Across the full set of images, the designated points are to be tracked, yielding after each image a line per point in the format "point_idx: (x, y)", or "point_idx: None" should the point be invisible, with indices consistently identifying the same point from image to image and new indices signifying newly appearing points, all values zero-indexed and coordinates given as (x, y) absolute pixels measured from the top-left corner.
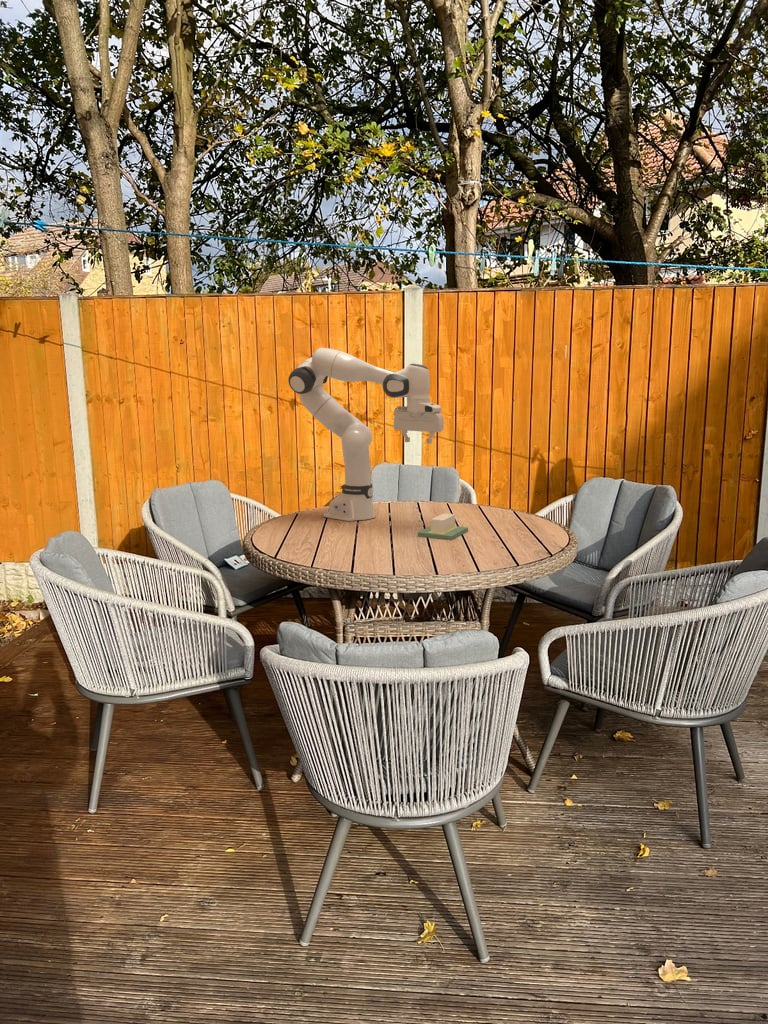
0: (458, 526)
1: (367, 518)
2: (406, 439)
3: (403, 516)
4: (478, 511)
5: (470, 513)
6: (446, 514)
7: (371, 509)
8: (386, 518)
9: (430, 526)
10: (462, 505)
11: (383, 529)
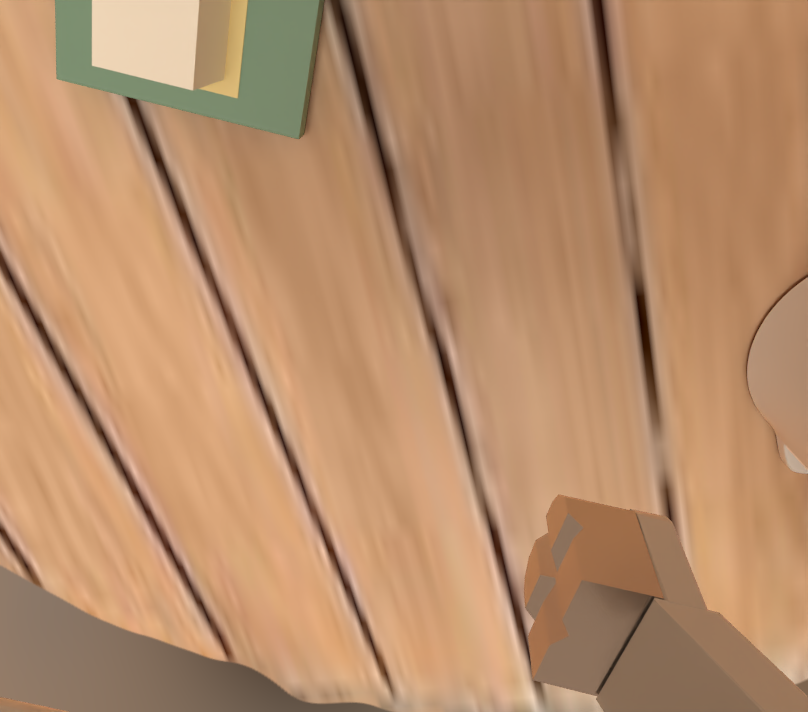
0: (124, 93)
1: (801, 286)
2: (625, 547)
3: (568, 409)
4: (196, 565)
5: (220, 522)
6: (156, 53)
7: (795, 358)
8: (669, 344)
9: (307, 48)
10: (309, 663)
11: (656, 11)
